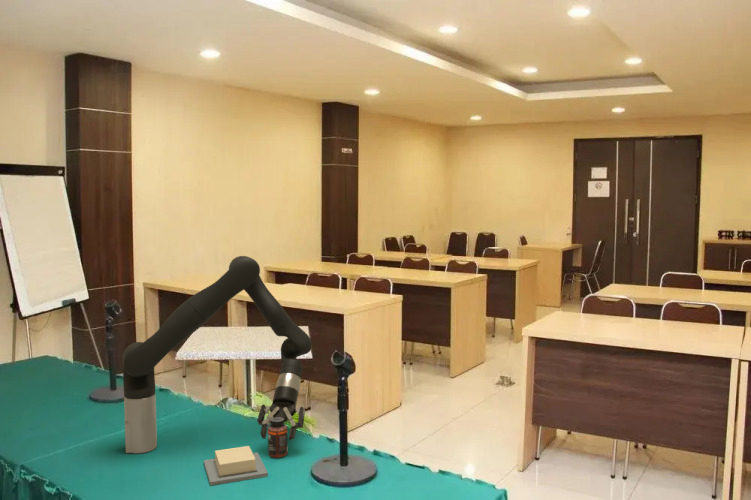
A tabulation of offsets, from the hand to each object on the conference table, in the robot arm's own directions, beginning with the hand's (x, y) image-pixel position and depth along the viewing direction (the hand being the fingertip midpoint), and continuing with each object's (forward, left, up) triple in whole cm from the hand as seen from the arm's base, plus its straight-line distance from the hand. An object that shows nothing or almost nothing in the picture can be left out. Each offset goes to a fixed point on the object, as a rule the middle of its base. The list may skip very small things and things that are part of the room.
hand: (276, 438), depth 193 cm
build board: (-13, -5, -5) cm, 15 cm away
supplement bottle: (+1, +1, -6) cm, 6 cm away
